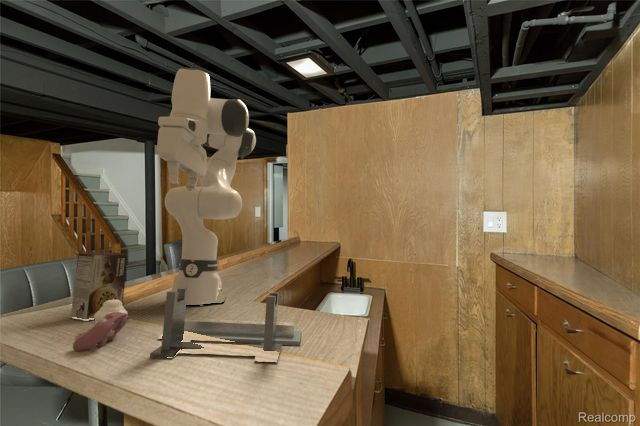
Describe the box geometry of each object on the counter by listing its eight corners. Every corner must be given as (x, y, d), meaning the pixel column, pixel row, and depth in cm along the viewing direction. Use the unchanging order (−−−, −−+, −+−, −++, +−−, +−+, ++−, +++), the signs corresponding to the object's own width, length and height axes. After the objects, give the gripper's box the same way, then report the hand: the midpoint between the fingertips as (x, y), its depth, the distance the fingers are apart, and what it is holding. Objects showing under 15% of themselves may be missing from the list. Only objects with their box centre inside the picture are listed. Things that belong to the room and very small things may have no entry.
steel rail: (176, 328, 69) (178, 317, 69) (293, 333, 69) (294, 322, 69) (172, 331, 66) (173, 320, 66) (293, 337, 67) (293, 325, 67)
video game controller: (91, 361, 55) (115, 324, 56) (67, 349, 54) (92, 313, 55) (117, 343, 64) (137, 312, 66) (97, 333, 64) (117, 302, 65)
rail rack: (170, 343, 61) (176, 286, 62) (281, 348, 62) (285, 291, 63) (149, 357, 53) (156, 292, 54) (277, 363, 54) (281, 298, 55)
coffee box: (106, 312, 84) (113, 252, 86) (122, 315, 82) (129, 253, 83) (68, 318, 76) (77, 252, 77) (85, 322, 73) (94, 253, 75)
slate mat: (175, 329, 71) (175, 325, 71) (301, 334, 72) (301, 331, 72) (158, 339, 63) (158, 335, 63) (299, 345, 64) (300, 341, 64)
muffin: (132, 330, 69) (136, 298, 69) (104, 337, 63) (108, 302, 64) (113, 326, 71) (117, 295, 72) (84, 333, 65) (89, 299, 66)
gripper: (191, 145, 86) (187, 193, 85) (154, 114, 66) (147, 177, 65) (214, 146, 86) (210, 195, 85) (184, 115, 66) (177, 179, 65)
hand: (182, 187), depth 75 cm, fingers open, 8 cm apart
